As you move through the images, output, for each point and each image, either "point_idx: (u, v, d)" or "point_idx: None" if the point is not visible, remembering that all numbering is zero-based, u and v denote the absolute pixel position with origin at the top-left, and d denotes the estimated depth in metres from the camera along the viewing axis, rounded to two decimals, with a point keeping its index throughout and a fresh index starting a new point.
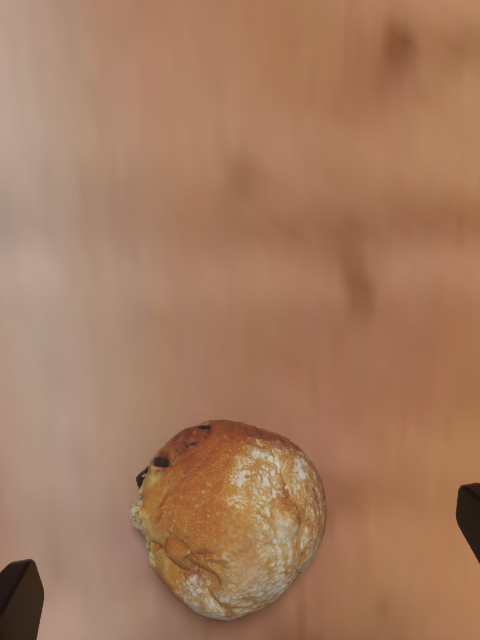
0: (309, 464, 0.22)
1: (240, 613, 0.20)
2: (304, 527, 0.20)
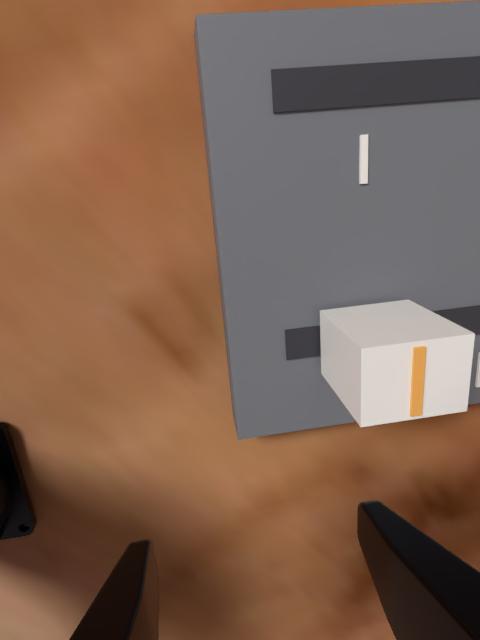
0: None
1: None
2: None
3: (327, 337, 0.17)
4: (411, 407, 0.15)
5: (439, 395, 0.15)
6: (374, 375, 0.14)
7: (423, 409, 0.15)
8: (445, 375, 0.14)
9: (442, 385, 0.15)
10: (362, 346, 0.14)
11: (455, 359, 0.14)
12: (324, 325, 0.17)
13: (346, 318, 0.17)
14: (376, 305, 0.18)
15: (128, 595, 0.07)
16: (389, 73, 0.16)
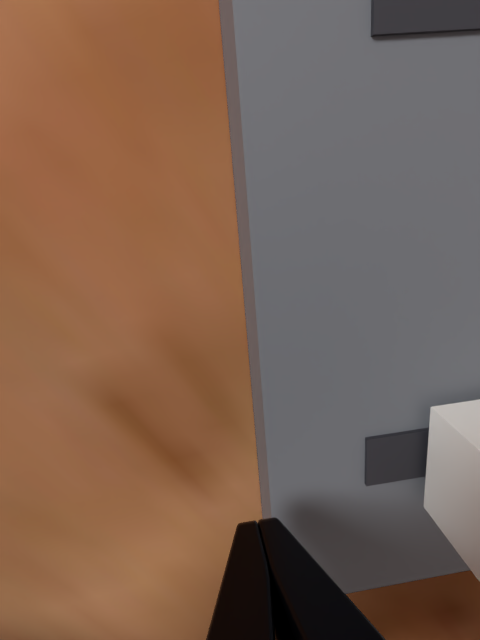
0: None
1: None
2: None
3: (452, 463, 0.09)
4: None
5: None
6: None
7: None
8: None
9: None
10: None
11: None
12: (444, 438, 0.10)
13: None
14: None
15: (257, 572, 0.07)
16: None
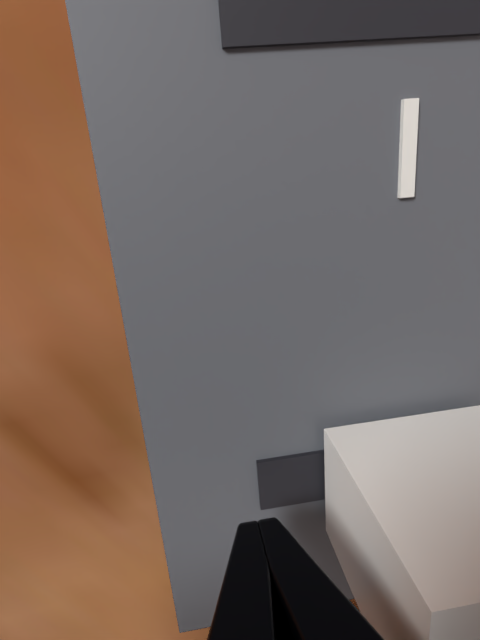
0: None
1: None
2: None
3: (338, 489, 0.09)
4: None
5: None
6: None
7: None
8: None
9: None
10: (431, 601, 0.06)
11: None
12: (333, 462, 0.09)
13: (377, 462, 0.08)
14: (428, 418, 0.10)
15: (258, 571, 0.07)
16: None
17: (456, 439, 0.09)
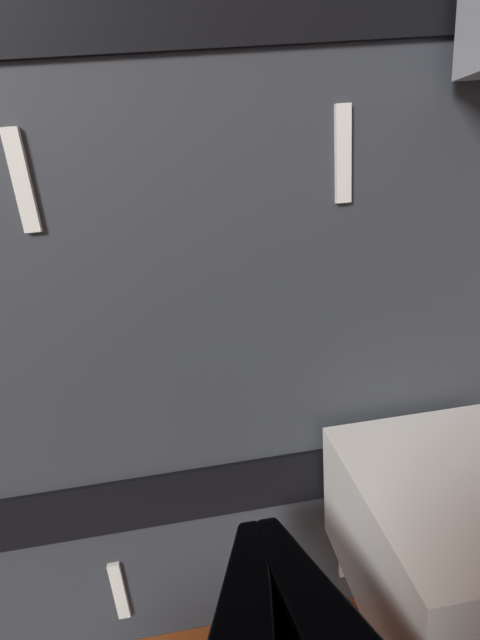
0: None
1: None
2: None
3: (337, 487, 0.09)
4: None
5: None
6: None
7: None
8: None
9: None
10: (428, 598, 0.06)
11: None
12: (331, 461, 0.09)
13: (375, 461, 0.08)
14: (426, 417, 0.10)
15: (258, 571, 0.07)
16: None
17: (454, 438, 0.09)
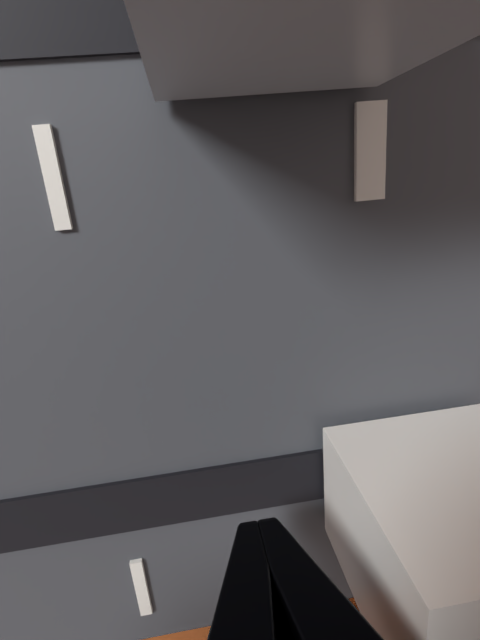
0: None
1: None
2: None
3: (338, 488, 0.09)
4: None
5: None
6: None
7: None
8: None
9: None
10: (429, 599, 0.06)
11: None
12: (331, 461, 0.09)
13: (375, 461, 0.08)
14: (427, 418, 0.10)
15: (258, 571, 0.07)
16: None
17: (454, 438, 0.09)
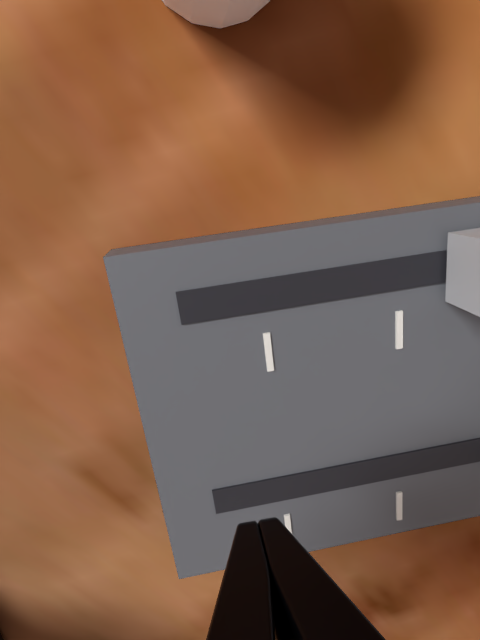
0: None
1: None
2: None
3: None
4: None
5: None
6: None
7: None
8: None
9: None
10: None
11: None
12: None
13: None
14: None
15: (257, 572, 0.07)
16: (284, 283, 0.17)
17: None
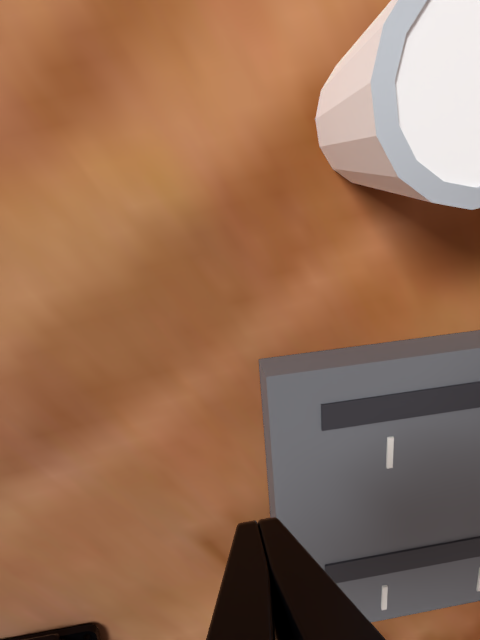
0: None
1: None
2: None
3: None
4: None
5: None
6: None
7: None
8: None
9: None
10: None
11: None
12: None
13: None
14: None
15: (257, 572, 0.07)
16: (411, 397, 0.20)
17: None
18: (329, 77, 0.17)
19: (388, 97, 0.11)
